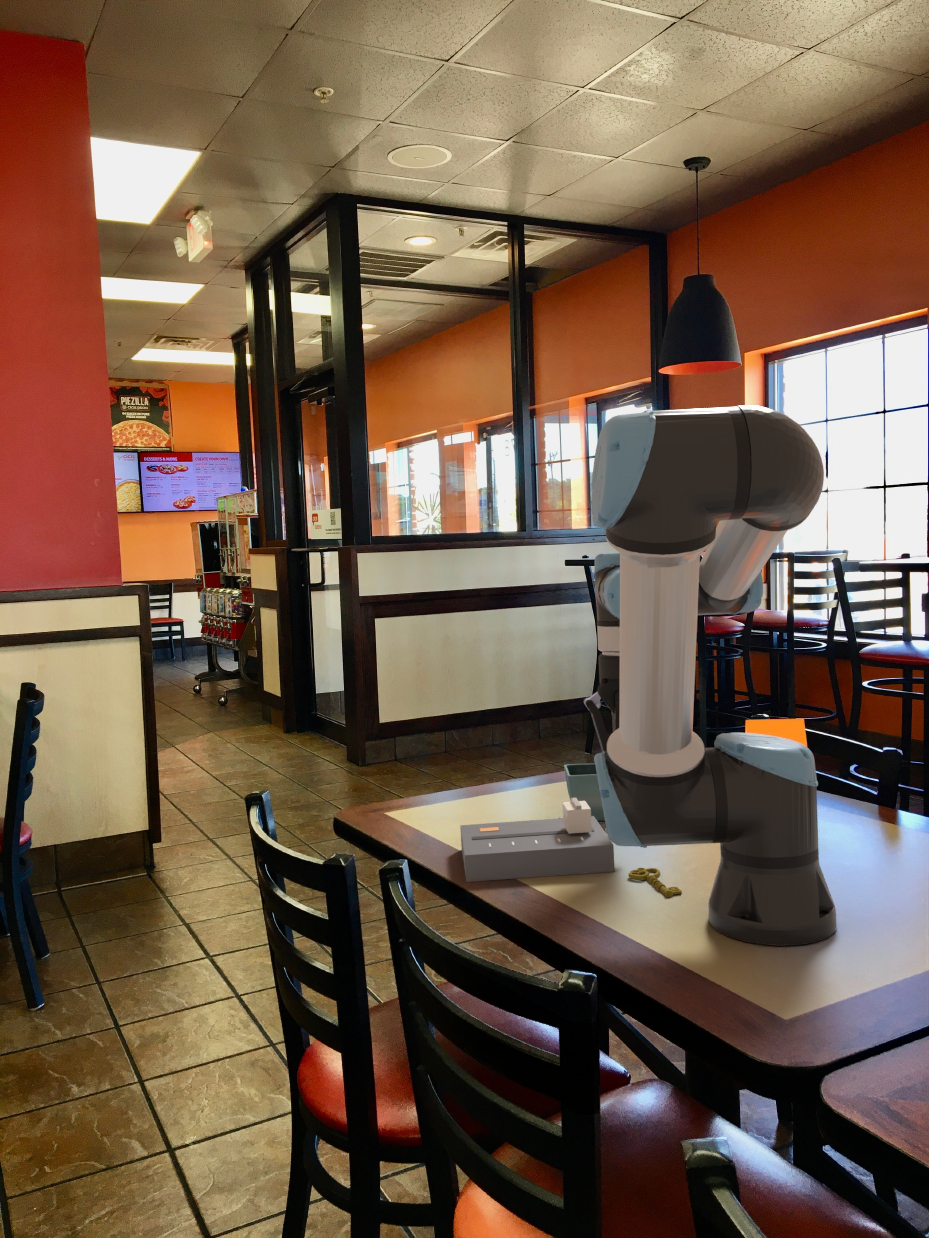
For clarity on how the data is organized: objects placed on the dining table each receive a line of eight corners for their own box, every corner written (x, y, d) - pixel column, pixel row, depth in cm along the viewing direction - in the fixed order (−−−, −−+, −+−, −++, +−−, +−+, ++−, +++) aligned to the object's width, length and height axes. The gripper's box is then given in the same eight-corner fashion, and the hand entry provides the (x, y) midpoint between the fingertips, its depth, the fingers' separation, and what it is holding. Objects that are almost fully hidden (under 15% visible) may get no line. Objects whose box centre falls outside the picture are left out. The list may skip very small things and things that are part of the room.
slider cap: (591, 831, 146) (590, 804, 146) (568, 833, 146) (567, 806, 146) (586, 823, 151) (584, 796, 151) (563, 824, 151) (562, 798, 151)
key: (684, 888, 130) (649, 892, 129) (685, 897, 130) (650, 901, 129) (653, 863, 142) (621, 867, 141) (654, 872, 142) (622, 875, 141)
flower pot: (621, 823, 166) (618, 772, 165) (570, 826, 166) (567, 775, 165) (614, 810, 175) (612, 761, 174) (566, 812, 175) (563, 764, 174)
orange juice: (813, 854, 144) (808, 723, 142) (752, 854, 145) (746, 724, 144) (805, 839, 151) (800, 714, 150) (747, 839, 153) (742, 715, 152)
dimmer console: (614, 871, 141) (613, 844, 141) (466, 881, 140) (464, 854, 140) (595, 839, 157) (593, 815, 157) (461, 849, 156) (460, 824, 156)
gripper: (658, 646, 151) (664, 792, 153) (576, 651, 151) (584, 798, 153) (670, 651, 144) (677, 805, 146) (584, 657, 144) (592, 811, 145)
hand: (629, 801), depth 149 cm, fingers closed
